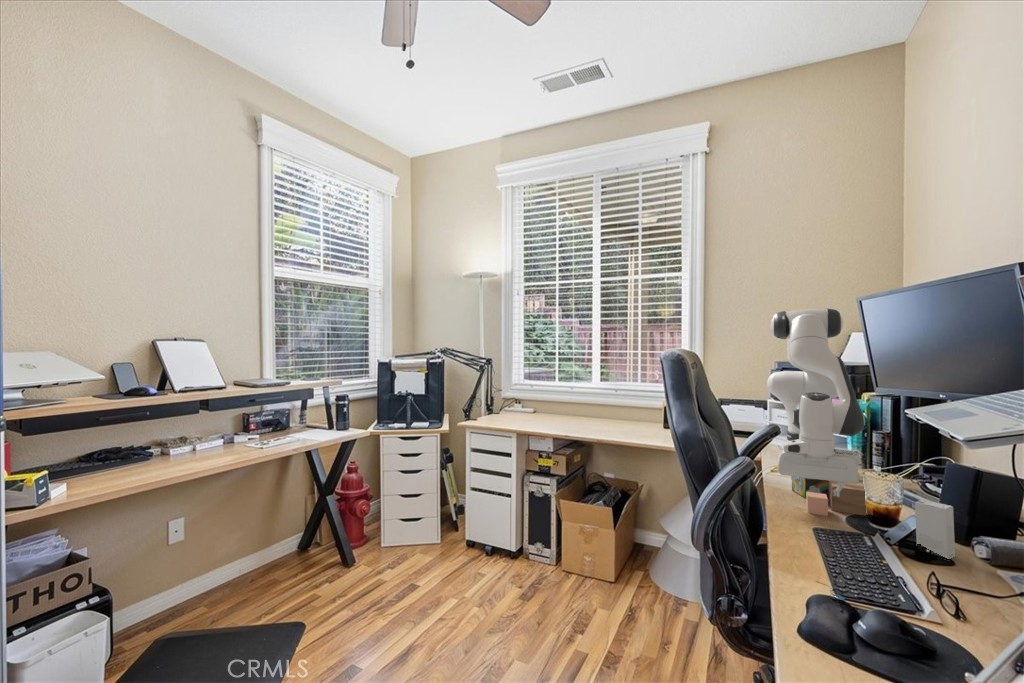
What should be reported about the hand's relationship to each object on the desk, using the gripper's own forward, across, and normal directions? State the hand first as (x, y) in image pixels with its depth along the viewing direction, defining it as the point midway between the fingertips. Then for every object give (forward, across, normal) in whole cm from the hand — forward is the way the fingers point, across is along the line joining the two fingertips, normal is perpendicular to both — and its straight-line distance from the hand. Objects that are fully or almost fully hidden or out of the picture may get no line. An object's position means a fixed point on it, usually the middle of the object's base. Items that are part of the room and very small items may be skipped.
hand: (816, 493), depth 135 cm
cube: (+6, 0, 0) cm, 6 cm away
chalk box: (+6, 0, -18) cm, 18 cm away
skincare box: (+6, -22, +18) cm, 29 cm away
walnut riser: (+5, -9, -8) cm, 13 cm away
